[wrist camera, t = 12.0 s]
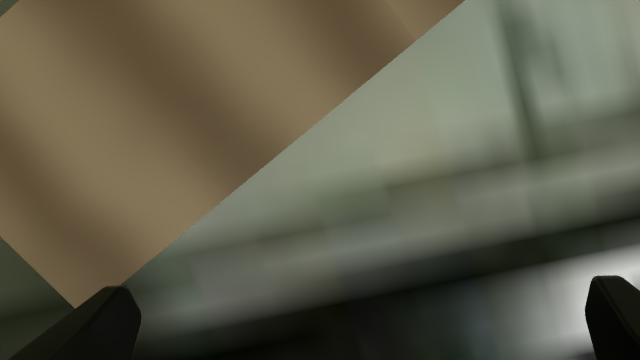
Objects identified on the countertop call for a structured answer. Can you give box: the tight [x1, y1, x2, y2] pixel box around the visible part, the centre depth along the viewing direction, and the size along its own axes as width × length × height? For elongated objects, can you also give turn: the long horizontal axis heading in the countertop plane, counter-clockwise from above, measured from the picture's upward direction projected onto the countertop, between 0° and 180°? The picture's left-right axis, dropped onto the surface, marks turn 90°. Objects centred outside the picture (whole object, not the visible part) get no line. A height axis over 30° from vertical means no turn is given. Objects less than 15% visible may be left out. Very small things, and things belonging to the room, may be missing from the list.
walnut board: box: [0, 0, 465, 308], centre depth 19 cm, size 24×10×3 cm, turn 129°
